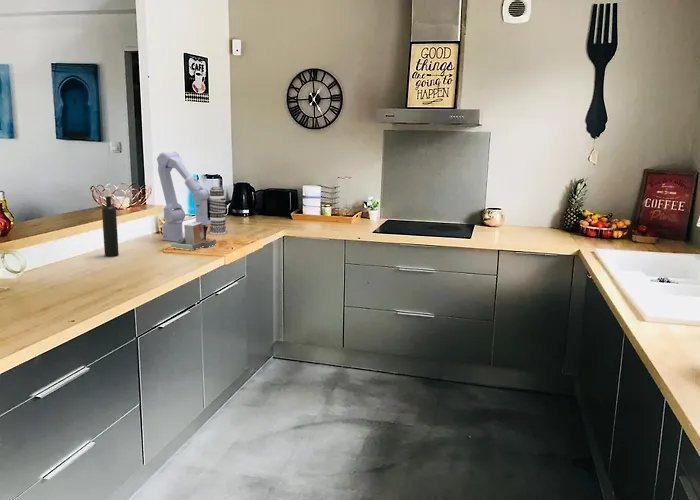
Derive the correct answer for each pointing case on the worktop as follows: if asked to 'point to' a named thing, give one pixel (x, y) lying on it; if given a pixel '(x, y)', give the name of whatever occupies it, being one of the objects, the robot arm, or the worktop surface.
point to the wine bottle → (110, 227)
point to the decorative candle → (217, 210)
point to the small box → (194, 233)
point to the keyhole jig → (182, 244)
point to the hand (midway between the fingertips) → (202, 240)
